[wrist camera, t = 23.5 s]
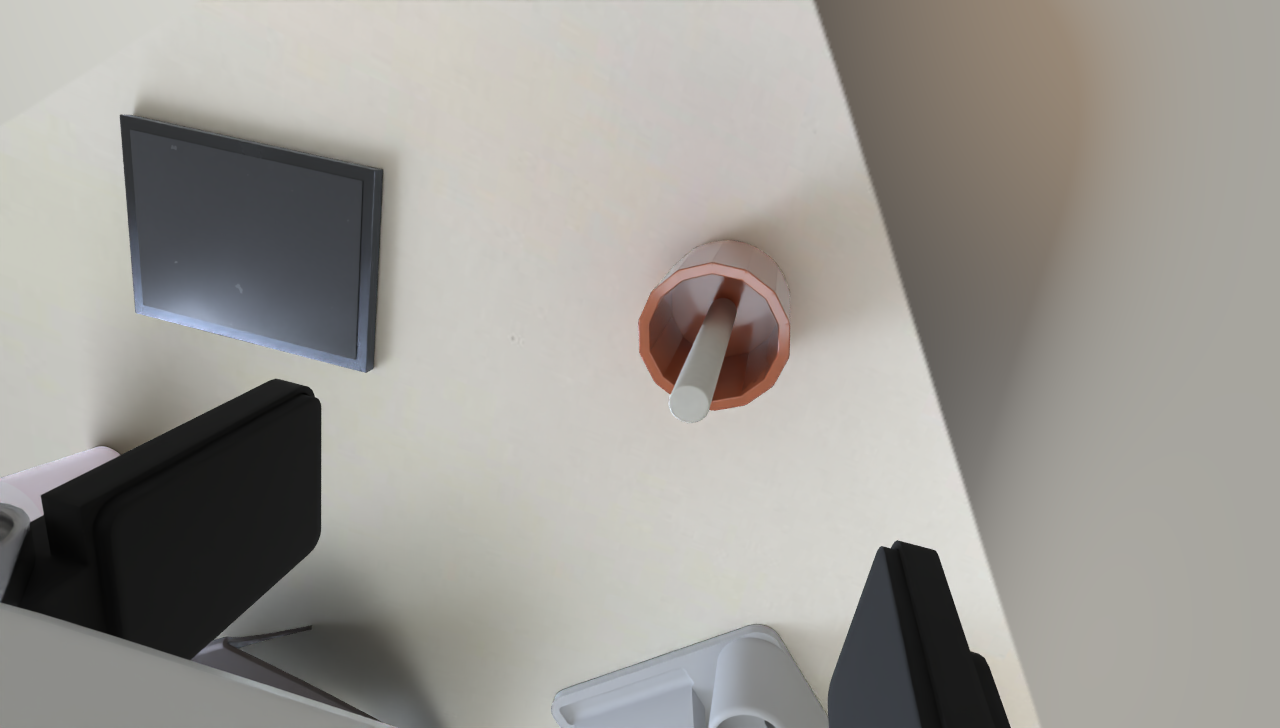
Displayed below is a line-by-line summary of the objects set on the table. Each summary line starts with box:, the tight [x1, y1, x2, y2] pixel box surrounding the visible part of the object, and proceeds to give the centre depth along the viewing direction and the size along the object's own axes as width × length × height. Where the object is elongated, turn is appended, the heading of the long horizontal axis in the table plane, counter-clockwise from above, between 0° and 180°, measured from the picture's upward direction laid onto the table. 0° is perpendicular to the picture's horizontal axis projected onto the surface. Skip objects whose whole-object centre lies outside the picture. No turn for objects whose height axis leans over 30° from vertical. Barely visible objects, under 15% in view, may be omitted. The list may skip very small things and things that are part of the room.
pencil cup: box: [638, 240, 790, 411], centre depth 33 cm, size 7×7×7 cm
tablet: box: [120, 115, 383, 373], centre depth 41 cm, size 12×16×1 cm
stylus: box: [669, 298, 737, 423], centre depth 30 cm, size 1×1×14 cm
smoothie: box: [0, 446, 120, 522], centre depth 43 cm, size 6×6×14 cm
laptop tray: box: [190, 625, 383, 723], centre depth 49 cm, size 23×23×9 cm
